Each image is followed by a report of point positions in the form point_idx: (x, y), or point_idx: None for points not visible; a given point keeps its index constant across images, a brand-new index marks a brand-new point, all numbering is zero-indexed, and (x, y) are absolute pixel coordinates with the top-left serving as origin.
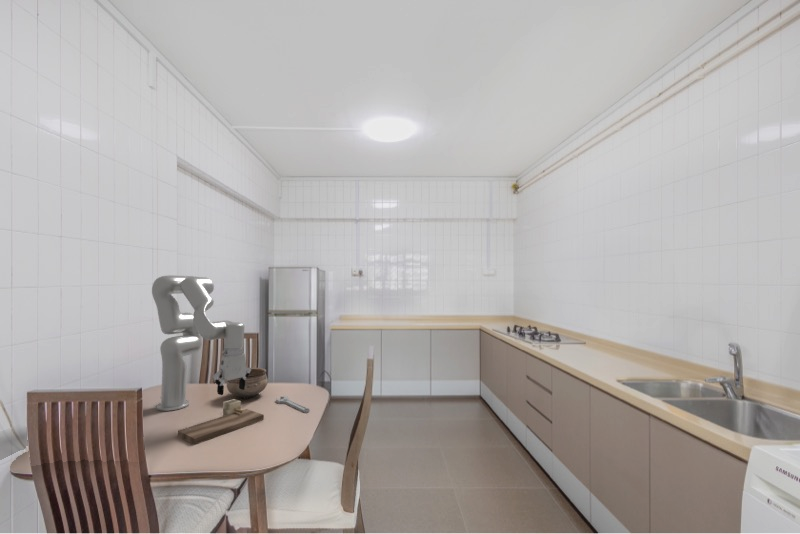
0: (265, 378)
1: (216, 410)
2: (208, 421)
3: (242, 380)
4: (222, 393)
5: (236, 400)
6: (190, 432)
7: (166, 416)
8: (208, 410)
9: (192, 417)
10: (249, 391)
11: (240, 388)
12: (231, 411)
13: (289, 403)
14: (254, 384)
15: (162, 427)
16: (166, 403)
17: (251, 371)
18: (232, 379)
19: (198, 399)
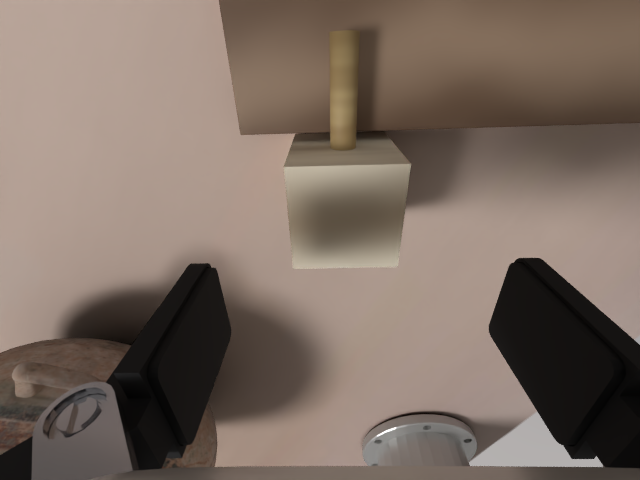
0: None
1: (343, 312)
2: (590, 112)
3: (158, 402)
4: (540, 267)
5: (301, 221)
6: None
7: (507, 385)
8: (366, 336)
9: (471, 310)
10: (113, 356)
11: (224, 312)
12: (377, 144)
13: None
14: (33, 375)
15: (632, 296)
16: (466, 460)
17: None
18: (538, 469)
19: (315, 445)
